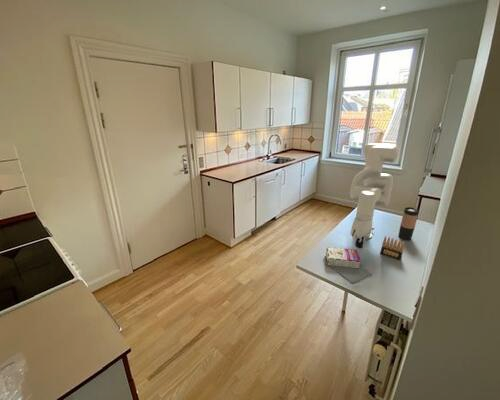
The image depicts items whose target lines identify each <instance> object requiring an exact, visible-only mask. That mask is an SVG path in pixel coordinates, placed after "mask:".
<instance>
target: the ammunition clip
mask: <svg viewBox="0 0 500 400" xmlns="http://www.w3.org/2000/svg"><path fill="white" fill-rule="evenodd" d="M394 239H395V240H394ZM390 240H391V241H390ZM401 240H402V239H399V240H398V239H397V238H394V237H392V238H391V237H390V236H389V237H388V238H387V235H386V236H384V237H383V241H382V244H381V249H380V251H379V252H380V253H379V255H382V256H385V257H388V258H391V259H394V260H398V261H402V257H403V253H404V248H405V240H403V241H402V242H401Z"/></svg>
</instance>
